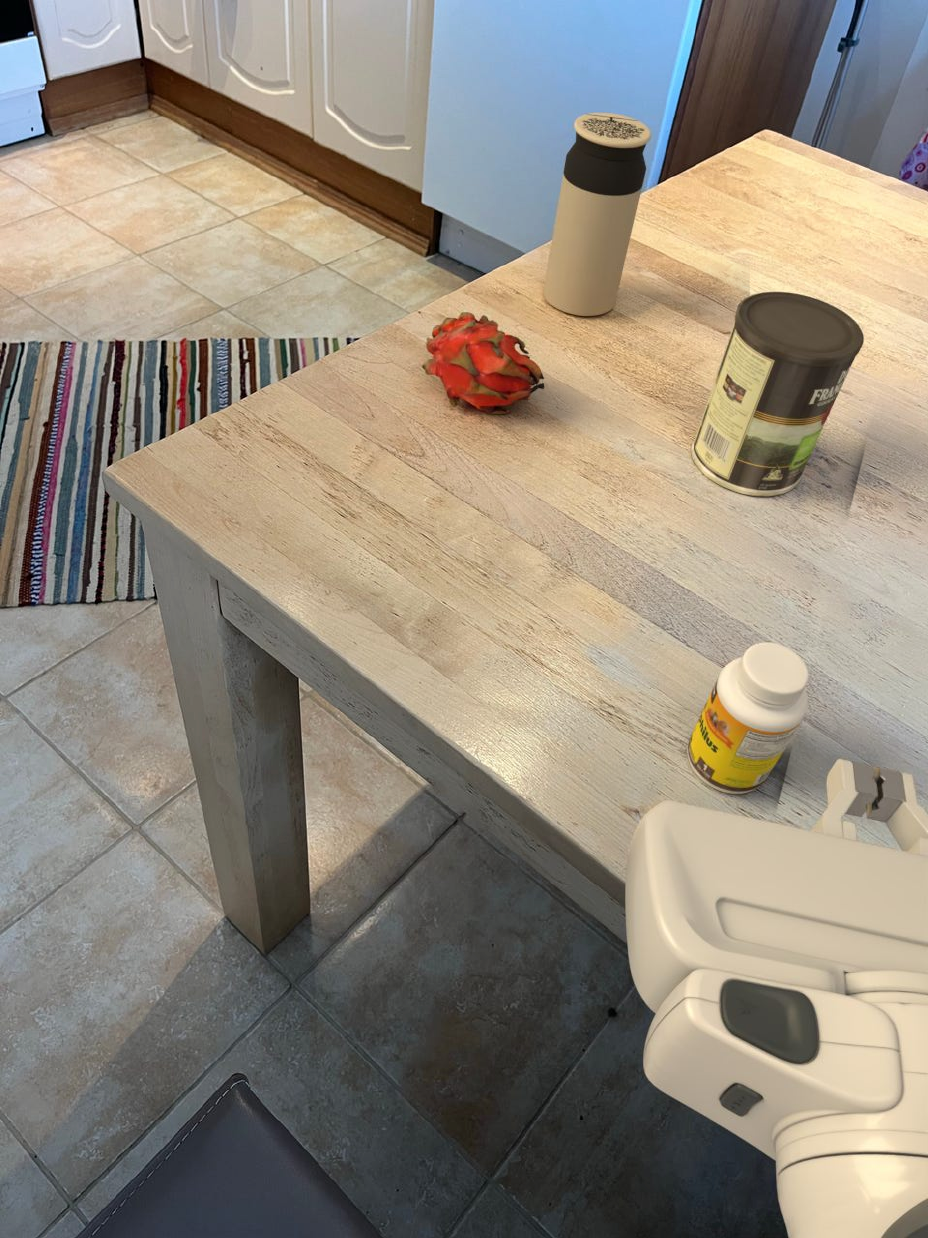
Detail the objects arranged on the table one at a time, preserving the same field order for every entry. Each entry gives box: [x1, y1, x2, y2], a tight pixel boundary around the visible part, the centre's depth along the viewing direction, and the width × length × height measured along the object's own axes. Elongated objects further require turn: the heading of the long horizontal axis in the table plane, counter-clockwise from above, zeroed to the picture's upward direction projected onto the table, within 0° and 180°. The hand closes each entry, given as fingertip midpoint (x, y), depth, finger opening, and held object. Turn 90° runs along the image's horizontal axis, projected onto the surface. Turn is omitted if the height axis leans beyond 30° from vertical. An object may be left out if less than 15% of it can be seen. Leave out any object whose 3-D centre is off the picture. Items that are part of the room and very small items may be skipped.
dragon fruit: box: [421, 311, 545, 415], centre depth 87 cm, size 8×8×12 cm
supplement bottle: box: [686, 641, 810, 795], centre depth 60 cm, size 6×6×10 cm
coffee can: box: [690, 291, 865, 498], centre depth 82 cm, size 10×10×14 cm
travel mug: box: [542, 112, 652, 317], centre depth 97 cm, size 8×8×18 cm
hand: (868, 773), depth 42 cm, fingers closed
